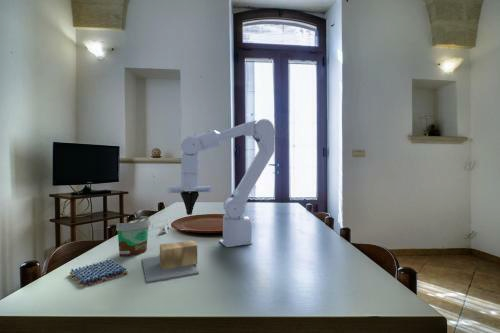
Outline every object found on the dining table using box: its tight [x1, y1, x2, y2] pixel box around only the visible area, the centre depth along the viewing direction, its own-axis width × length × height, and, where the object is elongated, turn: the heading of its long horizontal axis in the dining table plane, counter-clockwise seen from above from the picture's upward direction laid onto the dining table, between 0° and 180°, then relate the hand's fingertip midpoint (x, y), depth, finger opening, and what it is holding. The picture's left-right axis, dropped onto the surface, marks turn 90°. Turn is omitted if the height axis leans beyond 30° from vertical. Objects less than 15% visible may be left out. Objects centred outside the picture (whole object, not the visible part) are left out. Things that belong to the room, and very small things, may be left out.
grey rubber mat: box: [141, 255, 199, 284], centre depth 70 cm, size 12×16×1 cm
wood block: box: [159, 240, 198, 270], centre depth 71 cm, size 5×5×9 cm
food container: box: [115, 215, 152, 258], centre depth 82 cm, size 12×6×10 cm, turn 168°
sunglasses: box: [148, 217, 172, 234], centre depth 108 cm, size 14×8×5 cm, turn 8°
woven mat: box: [68, 259, 129, 288], centre depth 65 cm, size 10×11×2 cm
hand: (189, 214), depth 88 cm, fingers closed
